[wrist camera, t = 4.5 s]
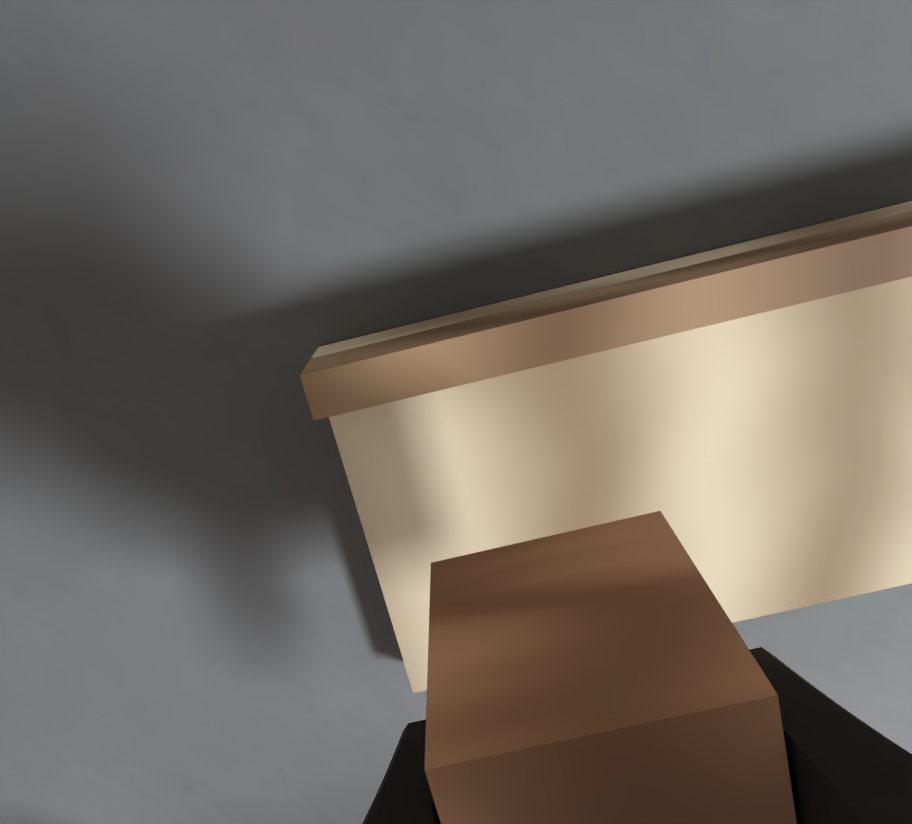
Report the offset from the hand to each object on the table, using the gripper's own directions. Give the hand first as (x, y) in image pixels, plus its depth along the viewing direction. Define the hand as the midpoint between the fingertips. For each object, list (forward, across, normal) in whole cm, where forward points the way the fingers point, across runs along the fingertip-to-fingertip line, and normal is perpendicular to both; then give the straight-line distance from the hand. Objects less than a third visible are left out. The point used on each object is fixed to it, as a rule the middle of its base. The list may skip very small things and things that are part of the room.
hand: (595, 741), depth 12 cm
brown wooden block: (+3, 0, +2) cm, 4 cm away
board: (+9, -7, -1) cm, 11 cm away
